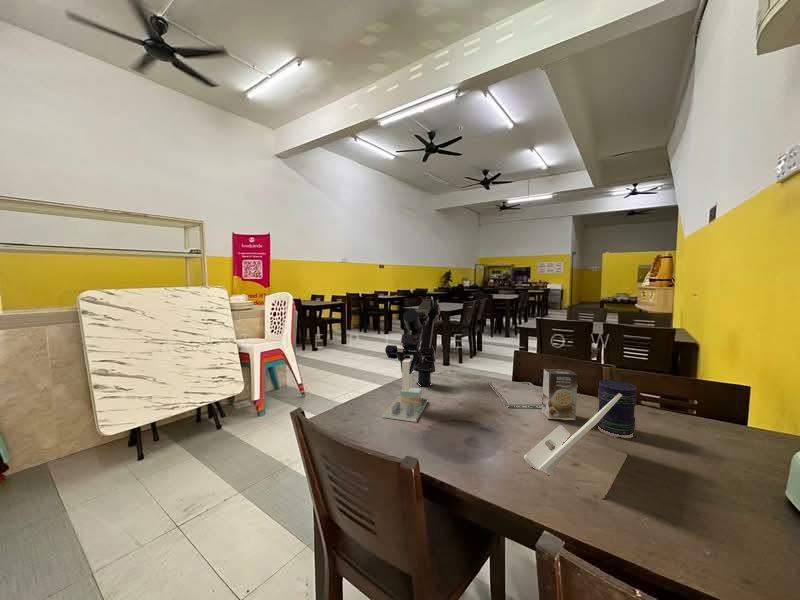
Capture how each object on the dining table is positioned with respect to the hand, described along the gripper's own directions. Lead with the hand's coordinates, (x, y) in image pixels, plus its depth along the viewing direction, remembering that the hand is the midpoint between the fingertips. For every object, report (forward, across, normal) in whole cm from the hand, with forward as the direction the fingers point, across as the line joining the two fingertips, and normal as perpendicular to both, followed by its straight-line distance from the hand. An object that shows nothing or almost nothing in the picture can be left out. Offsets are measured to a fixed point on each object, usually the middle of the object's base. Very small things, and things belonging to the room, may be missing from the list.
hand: (406, 373), depth 114 cm
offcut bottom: (+4, 0, +14) cm, 15 cm away
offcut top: (+2, 0, +13) cm, 13 cm away
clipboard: (-11, +40, +32) cm, 52 cm away
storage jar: (+7, +67, +13) cm, 69 cm away
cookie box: (+2, +52, +17) cm, 55 cm away
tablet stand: (+22, +52, -3) cm, 56 cm away
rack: (+9, 0, +10) cm, 14 cm away
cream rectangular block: (+3, 0, +5) cm, 6 cm away
